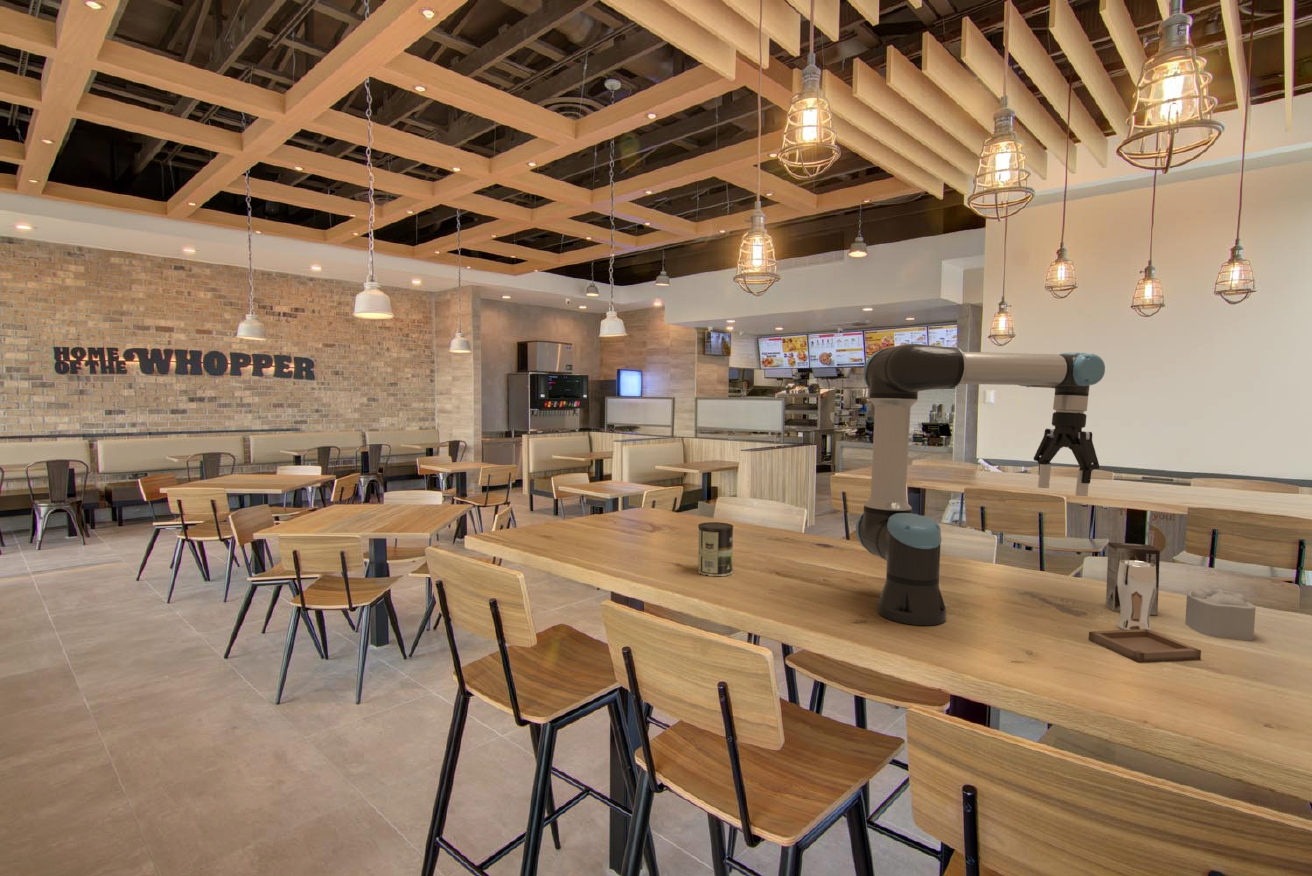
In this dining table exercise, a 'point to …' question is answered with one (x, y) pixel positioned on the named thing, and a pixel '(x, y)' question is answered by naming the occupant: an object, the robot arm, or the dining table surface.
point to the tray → (1144, 645)
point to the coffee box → (1129, 553)
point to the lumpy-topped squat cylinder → (1220, 614)
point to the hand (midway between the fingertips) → (1061, 491)
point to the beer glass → (1135, 593)
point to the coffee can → (715, 548)
